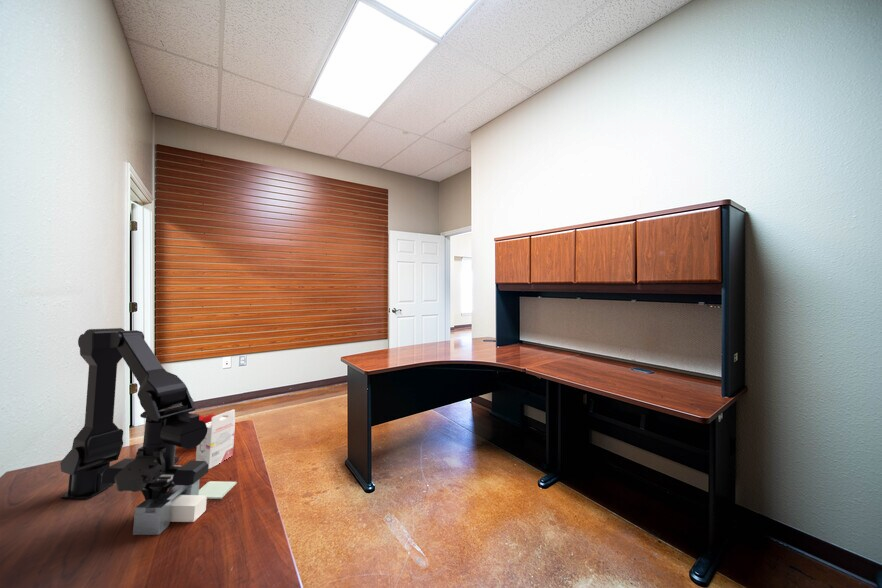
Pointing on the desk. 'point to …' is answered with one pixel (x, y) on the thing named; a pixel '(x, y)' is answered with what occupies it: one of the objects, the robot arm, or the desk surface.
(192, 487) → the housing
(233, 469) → the desk surface
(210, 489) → the mat
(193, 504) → the plug
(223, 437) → the ink cartridge box
